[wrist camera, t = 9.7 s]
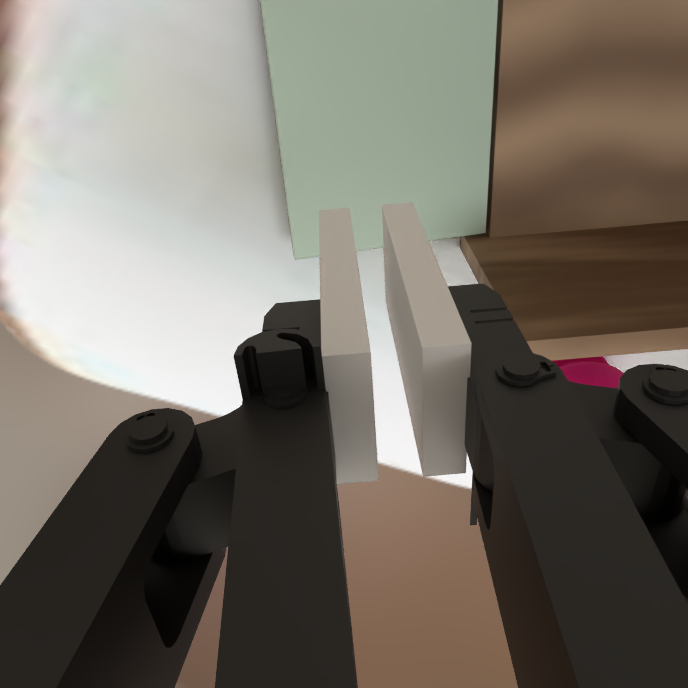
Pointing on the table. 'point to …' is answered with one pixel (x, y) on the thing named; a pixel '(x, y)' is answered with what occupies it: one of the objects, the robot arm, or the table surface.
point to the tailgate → (382, 112)
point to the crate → (589, 176)
